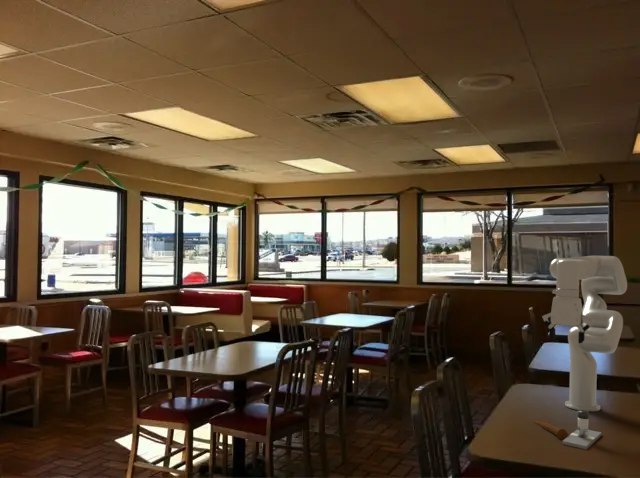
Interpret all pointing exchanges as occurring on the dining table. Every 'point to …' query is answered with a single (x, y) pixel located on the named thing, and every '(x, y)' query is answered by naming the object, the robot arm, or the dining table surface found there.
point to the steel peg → (583, 423)
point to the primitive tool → (552, 429)
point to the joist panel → (581, 439)
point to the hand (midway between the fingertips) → (566, 341)
